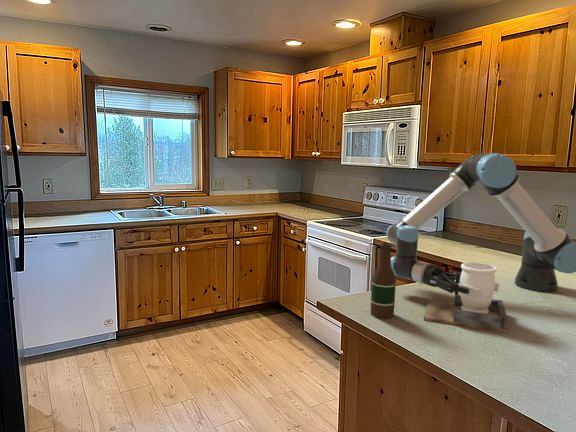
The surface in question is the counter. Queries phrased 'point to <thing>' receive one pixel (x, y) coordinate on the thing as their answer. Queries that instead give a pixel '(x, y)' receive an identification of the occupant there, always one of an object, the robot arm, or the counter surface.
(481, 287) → the jar
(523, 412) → the counter surface
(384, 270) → the beer bottle
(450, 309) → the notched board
